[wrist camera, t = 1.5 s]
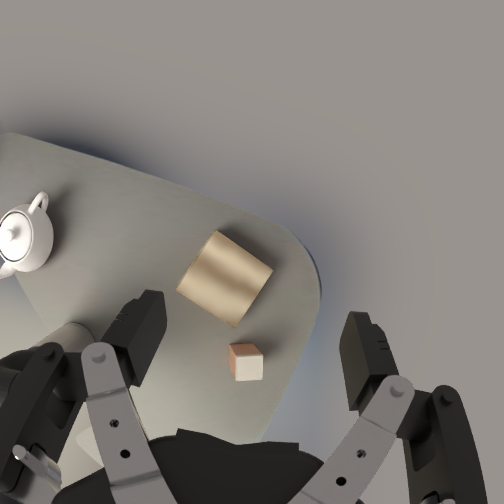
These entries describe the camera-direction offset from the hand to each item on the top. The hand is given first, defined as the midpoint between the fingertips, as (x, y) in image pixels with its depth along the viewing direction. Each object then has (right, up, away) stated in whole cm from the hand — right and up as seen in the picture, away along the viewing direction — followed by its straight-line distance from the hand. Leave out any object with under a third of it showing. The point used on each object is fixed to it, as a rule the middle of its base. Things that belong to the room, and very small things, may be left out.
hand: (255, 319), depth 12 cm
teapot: (-47, +5, +36) cm, 59 cm away
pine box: (-6, -2, +46) cm, 47 cm away
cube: (-2, -19, +47) cm, 50 cm away
